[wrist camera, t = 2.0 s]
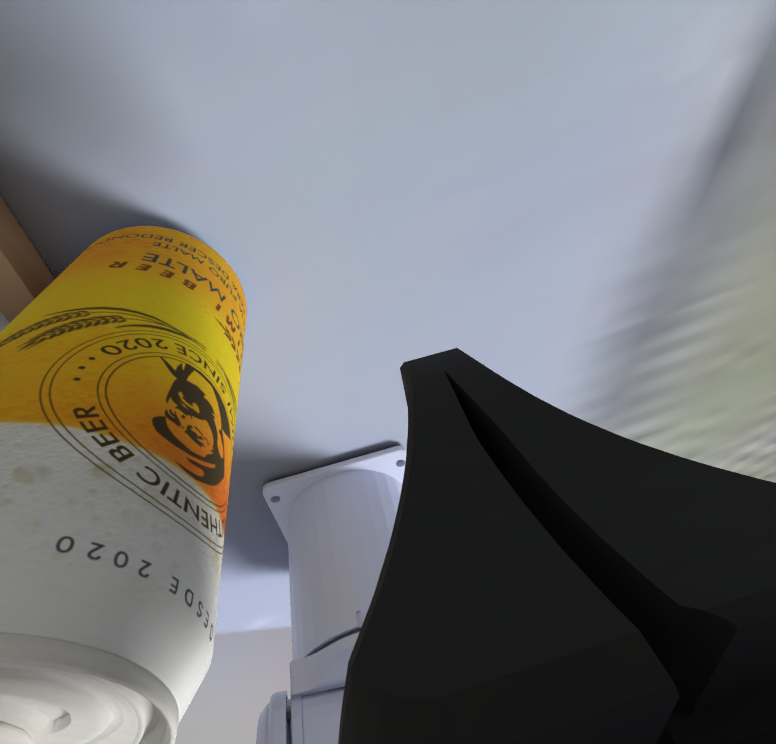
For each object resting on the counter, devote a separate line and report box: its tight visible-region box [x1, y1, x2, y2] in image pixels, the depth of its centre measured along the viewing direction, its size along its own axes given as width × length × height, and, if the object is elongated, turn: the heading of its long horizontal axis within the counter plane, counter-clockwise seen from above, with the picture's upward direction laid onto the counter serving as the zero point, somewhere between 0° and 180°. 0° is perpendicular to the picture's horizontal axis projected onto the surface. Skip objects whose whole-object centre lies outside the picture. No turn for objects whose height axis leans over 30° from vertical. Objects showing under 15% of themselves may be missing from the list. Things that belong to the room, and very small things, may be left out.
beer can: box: [0, 226, 247, 744], centre depth 12 cm, size 6×6×15 cm
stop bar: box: [0, 195, 55, 323], centre depth 17 cm, size 18×1×2 cm, turn 11°
